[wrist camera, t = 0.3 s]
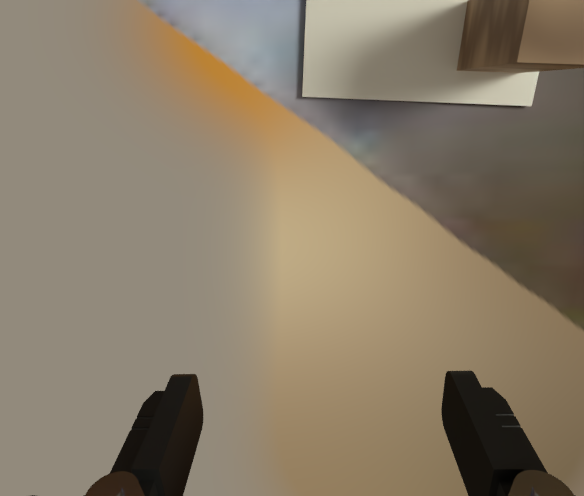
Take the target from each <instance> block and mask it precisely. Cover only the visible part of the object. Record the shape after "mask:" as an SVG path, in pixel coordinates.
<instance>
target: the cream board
mask: <svg viewBox="0 0 584 496" xmlns="http://www.w3.org/2000/svg"><path fill="white" fill-rule="evenodd" d="M467 1H468V0H306V22H305V45H304V68H303V91H302V97H320V98H344V99H369V100H393V101H417V102H441V103H466V104H490V105H514V106H532V102H533V97H534V93H535V88H536V84H537V79H538V74H539V71H537V72H525V73H508V72H480V71H457V65H458V59H459V52H460V46H461V40H462V33H463V27H464V20H465V14H466V8H467Z"/></svg>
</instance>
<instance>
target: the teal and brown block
mask: <svg viewBox="0 0 584 496" xmlns="http://www.w3.org/2000/svg"><path fill="white" fill-rule="evenodd" d="M574 68H584V0H468V1H467V8H466V14H465V20H464V27H463V33H462V40H461V46H460V52H459V59H458V65H457V71H480V72H508V73H525V72H537V71H550V70H562V69H574Z"/></svg>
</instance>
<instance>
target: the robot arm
mask: <svg viewBox="0 0 584 496" xmlns="http://www.w3.org/2000/svg"><path fill="white" fill-rule="evenodd" d="M442 420H443V426H444V429H445V432H446V434H447V437H448V440H449V443H450V446H451V449H452V451H453V454H454V457H455V460H456V462H457V465H458V468H459V471H460V473H461V476H462V479H463V482H464V484H465V487H466V490H467V493H468V496H575V495H574V494H573V493H572V491H571V490H570V489H569V488H568V487H567V486H566V485H565V484H564V483H563V482H562V481H561V480H559V479H558V478H556V477H554V476H552V475H550V474H548V473H547V471H546V469H545V468H544V466H543V464H542V462H541V461H540V459H539V457H538V456H537V454H536V452H535V450H534V449H533V447H532V445H531V443H530V441H529V440H528V438H527V436H526V434H525V433H524V431H523V429H522V428H521V427H520V424H519V422H518V420H517V419H516V417H514V413H513V412H512V410H511V408H510V406H509V405H508V403H507V401H506V400H505V399H504V398H503V397H502V396H501V395H500V394H499V393H497V392H496V391H495V390H494V389H493V388H482V387H481V385H480V383H479V381H478V379H477V378H476V376H475V374H474V372H472V371H448V372H447V373H446V377H445V384H444V393H443V401H442ZM202 425H203V408H202V401H201V396H200V390H199V384H198V379H197V376H196V375H195V374H174V375H172V376H171V378H170V380H169V382H168V384H167V387H166V389H165V391H155V392H154V393H153V394H152V395H151V396H150V397H149V398H148V399H147V400H146V401H145V402H144V403H143V405H142V407H141V409H140V411H139V413H138V416H137V419H136V420H135V422H134V424H133V426H132V430H131V431H130V432H129V434H128V436H127V438H126V441H125V443H124V445H123V447H122V449H121V451H120V453H119V455H118V458H117V459H116V462H115V464H114V466H113V468H112V470H111V472H110V474H108V475H106V476H104V477H102V478H100V479H99V480H98V481H96V482H95V483H94V484H93V485H92V486H91V487H90V488H89V490H88V491H87V493H86V495H84V496H183V493H184V490H185V486H186V483H187V479H188V476H189V473H190V469H191V465H192V462H193V459H194V455H195V452H196V448H197V444H198V441H199V438H200V434H201V430H202ZM32 496H33V495H32Z"/></svg>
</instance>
